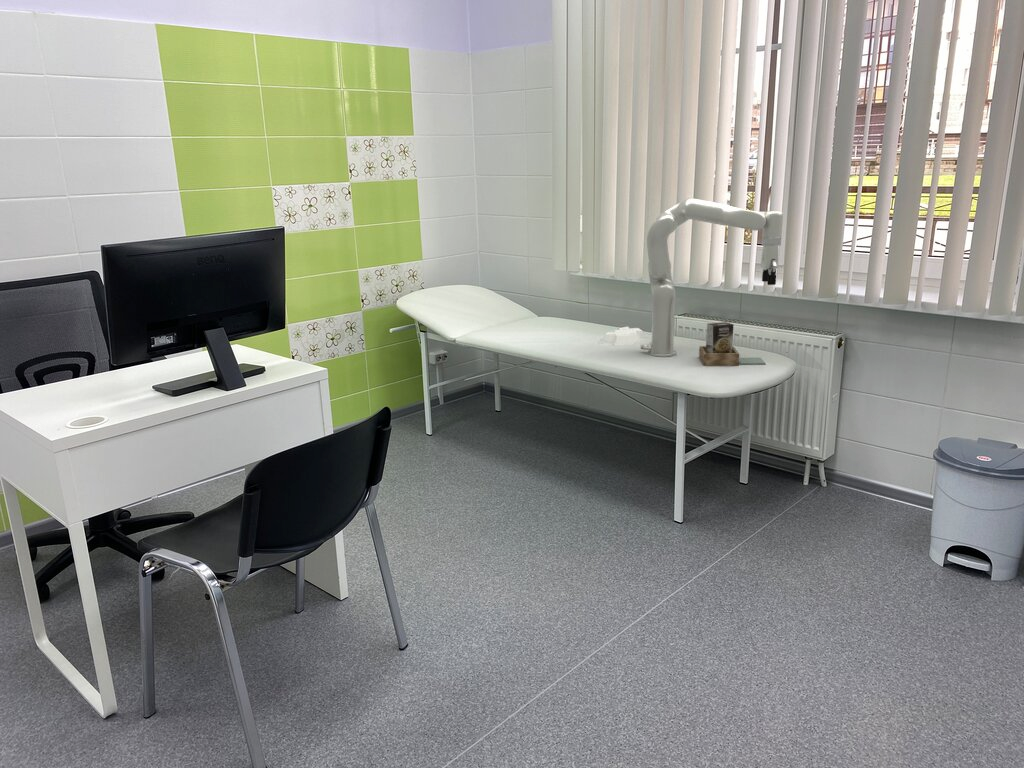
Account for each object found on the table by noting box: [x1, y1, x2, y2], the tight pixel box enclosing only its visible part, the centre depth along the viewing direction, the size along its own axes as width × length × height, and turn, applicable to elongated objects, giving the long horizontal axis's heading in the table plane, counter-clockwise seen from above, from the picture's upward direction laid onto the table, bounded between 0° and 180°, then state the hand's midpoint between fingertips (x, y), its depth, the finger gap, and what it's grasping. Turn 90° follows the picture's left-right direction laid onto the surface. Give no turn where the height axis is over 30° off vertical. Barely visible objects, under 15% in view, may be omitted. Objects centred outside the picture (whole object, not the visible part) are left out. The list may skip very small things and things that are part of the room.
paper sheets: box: [598, 326, 649, 346], centre depth 357 cm, size 35×20×6 cm, turn 144°
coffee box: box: [705, 321, 734, 353], centre depth 313 cm, size 9×6×16 cm
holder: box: [698, 345, 740, 367], centre depth 315 cm, size 14×14×5 cm
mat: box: [739, 356, 767, 366], centre depth 314 cm, size 10×10×1 cm
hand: (768, 283), depth 317 cm, fingers open, 9 cm apart
